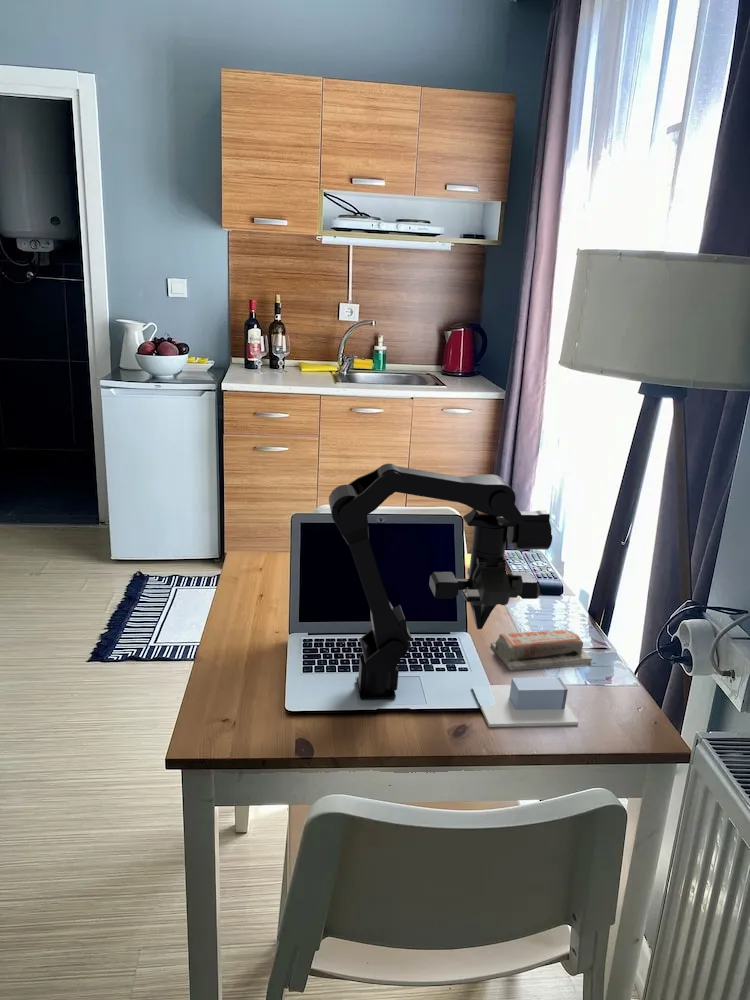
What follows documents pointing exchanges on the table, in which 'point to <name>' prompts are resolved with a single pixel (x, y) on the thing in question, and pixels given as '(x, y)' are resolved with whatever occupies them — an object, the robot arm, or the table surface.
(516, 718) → the mat
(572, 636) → the packaged product
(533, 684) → the block
